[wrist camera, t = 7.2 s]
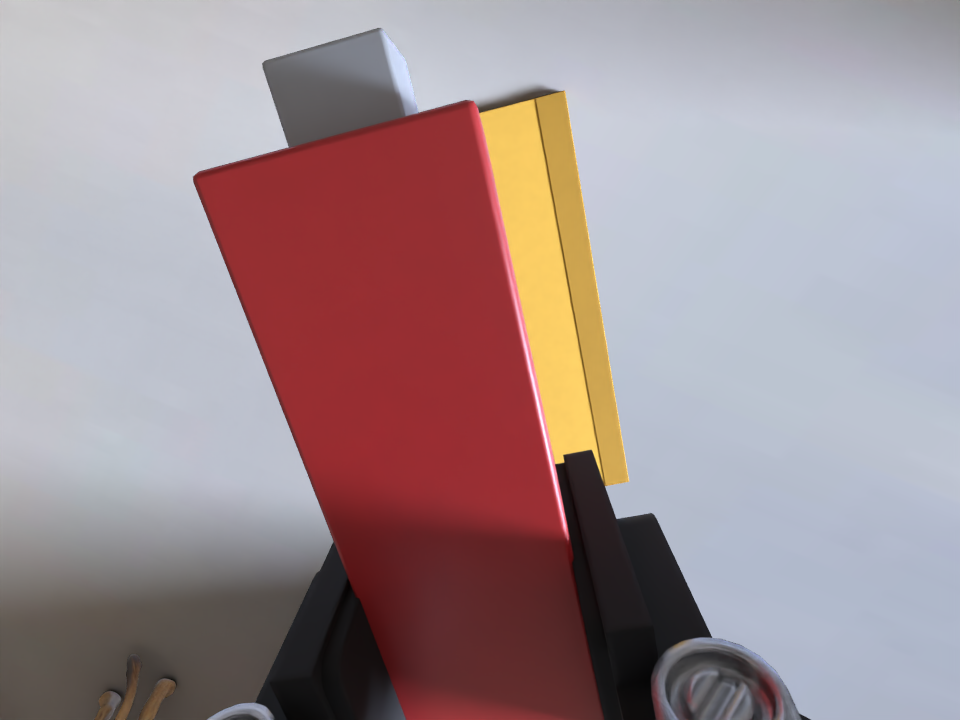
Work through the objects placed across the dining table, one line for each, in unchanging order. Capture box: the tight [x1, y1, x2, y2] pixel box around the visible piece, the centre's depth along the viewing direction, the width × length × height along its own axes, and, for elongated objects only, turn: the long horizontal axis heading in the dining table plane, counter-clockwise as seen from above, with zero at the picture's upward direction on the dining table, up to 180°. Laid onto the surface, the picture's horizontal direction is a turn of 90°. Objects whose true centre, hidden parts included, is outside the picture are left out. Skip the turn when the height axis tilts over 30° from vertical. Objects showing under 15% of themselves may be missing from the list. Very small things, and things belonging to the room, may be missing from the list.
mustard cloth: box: [479, 91, 629, 486], centre depth 23 cm, size 9×18×1 cm, turn 13°
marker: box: [193, 28, 604, 720], centre depth 8 cm, size 3×15×3 cm, turn 13°
